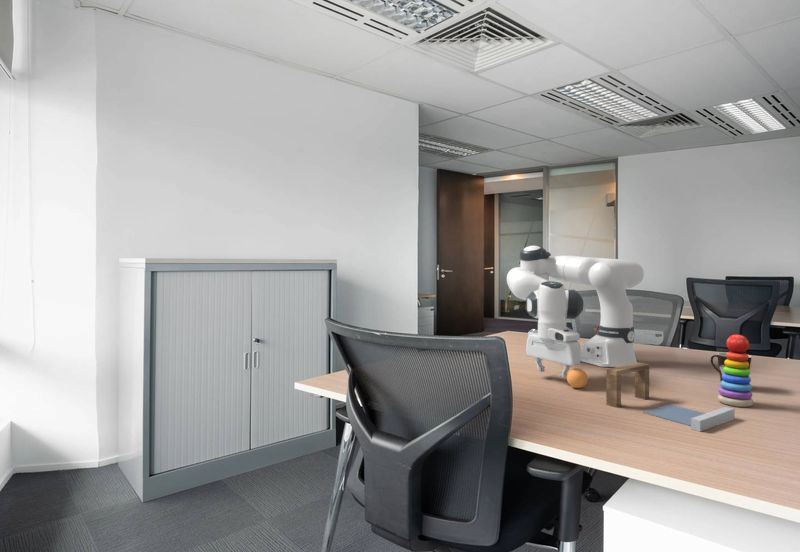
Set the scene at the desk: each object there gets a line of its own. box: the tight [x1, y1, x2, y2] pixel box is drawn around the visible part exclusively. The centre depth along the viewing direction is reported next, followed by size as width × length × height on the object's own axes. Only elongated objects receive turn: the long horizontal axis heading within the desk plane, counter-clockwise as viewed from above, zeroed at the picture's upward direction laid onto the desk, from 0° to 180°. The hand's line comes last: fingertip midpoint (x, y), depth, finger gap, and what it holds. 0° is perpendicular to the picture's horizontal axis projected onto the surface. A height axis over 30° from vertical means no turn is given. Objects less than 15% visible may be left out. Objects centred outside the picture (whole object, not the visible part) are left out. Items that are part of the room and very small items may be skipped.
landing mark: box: [642, 403, 706, 427], centre depth 122 cm, size 12×12×1 cm
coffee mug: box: [710, 351, 752, 382], centre depth 148 cm, size 12×9×10 cm
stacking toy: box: [717, 334, 754, 408], centre depth 131 cm, size 8×8×19 cm
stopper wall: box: [690, 406, 736, 432], centre depth 115 cm, size 2×16×2 cm, turn 121°
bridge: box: [605, 362, 650, 408], centre depth 134 cm, size 3×15×10 cm, turn 122°
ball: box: [566, 367, 589, 389], centre depth 148 cm, size 6×6×6 cm
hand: (551, 374), depth 157 cm, fingers open, 8 cm apart
